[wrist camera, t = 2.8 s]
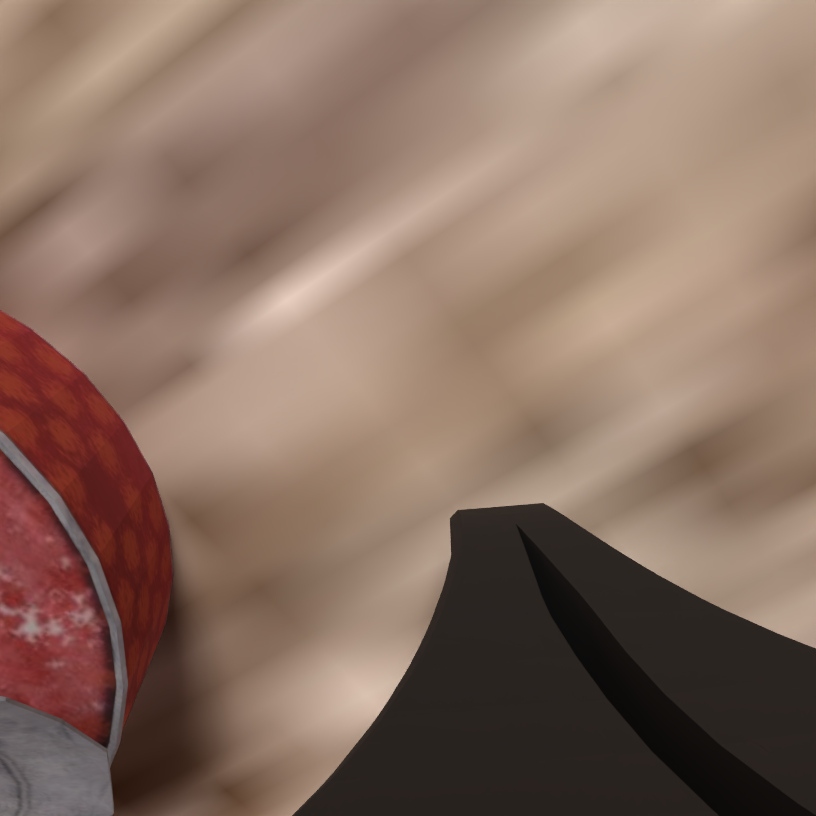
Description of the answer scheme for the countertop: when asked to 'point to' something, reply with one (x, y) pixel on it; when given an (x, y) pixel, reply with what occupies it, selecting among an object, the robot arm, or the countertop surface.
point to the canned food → (70, 580)
